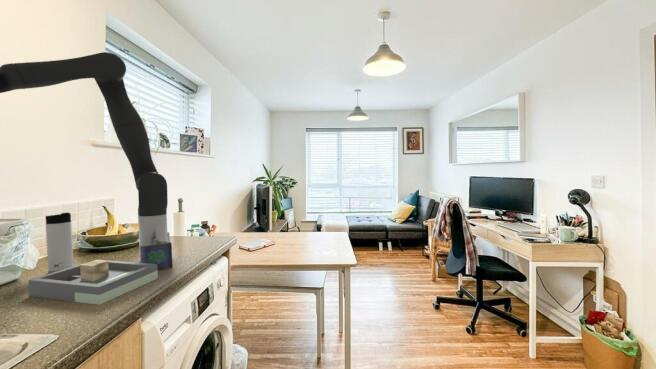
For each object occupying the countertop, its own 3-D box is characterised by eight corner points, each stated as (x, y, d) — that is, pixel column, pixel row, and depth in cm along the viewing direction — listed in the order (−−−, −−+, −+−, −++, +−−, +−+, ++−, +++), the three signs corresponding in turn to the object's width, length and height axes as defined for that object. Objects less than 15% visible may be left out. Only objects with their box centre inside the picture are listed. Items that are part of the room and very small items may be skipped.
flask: (140, 273, 93) (139, 241, 93) (141, 270, 96) (140, 239, 95) (172, 268, 98) (171, 237, 98) (172, 265, 100) (171, 236, 100)
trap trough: (97, 272, 94) (96, 259, 94) (157, 278, 88) (157, 264, 88) (29, 296, 76) (28, 279, 76) (99, 304, 71) (98, 287, 71)
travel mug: (59, 275, 92) (55, 214, 91) (43, 273, 94) (39, 213, 93) (79, 268, 98) (76, 211, 98) (64, 267, 100) (61, 211, 99)
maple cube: (96, 274, 85) (96, 259, 85) (108, 275, 84) (108, 260, 84) (80, 280, 81) (80, 264, 81) (93, 281, 80) (92, 265, 80)
